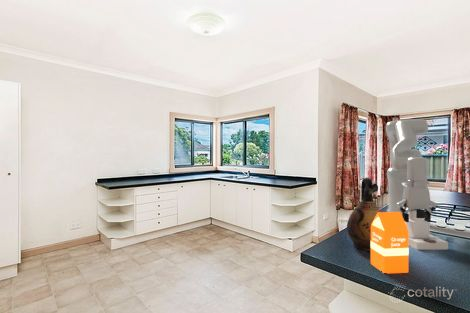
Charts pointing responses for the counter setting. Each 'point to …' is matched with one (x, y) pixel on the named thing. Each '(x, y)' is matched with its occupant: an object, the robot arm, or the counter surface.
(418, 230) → the medicine bottle
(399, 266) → the orange juice
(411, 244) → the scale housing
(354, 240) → the ceramic jug
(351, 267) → the counter surface
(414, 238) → the scale pan
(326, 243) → the counter surface
